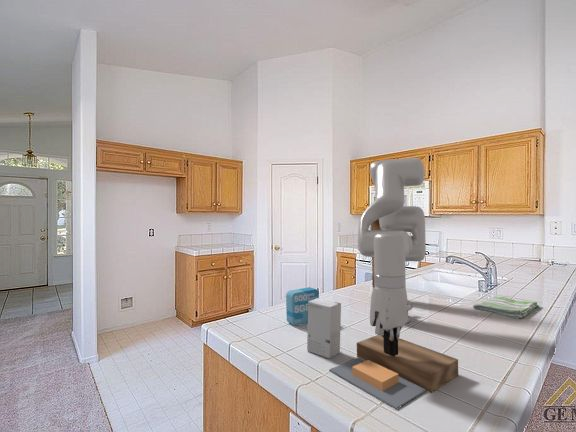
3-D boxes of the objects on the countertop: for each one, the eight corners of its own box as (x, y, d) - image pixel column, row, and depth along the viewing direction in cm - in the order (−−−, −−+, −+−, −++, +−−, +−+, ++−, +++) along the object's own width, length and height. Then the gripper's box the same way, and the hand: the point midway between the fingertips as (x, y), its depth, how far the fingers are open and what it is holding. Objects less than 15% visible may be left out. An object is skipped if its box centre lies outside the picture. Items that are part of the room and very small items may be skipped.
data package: (292, 326, 112) (292, 293, 112) (286, 323, 116) (285, 291, 116) (319, 320, 119) (319, 288, 118) (312, 317, 122) (312, 286, 122)
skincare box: (306, 351, 92) (305, 301, 92) (318, 344, 96) (317, 296, 96) (331, 359, 86) (330, 306, 86) (342, 352, 91) (341, 301, 91)
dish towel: (471, 310, 128) (471, 301, 128) (492, 299, 143) (492, 292, 143) (522, 321, 115) (521, 311, 115) (540, 308, 129) (539, 300, 129)
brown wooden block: (384, 345, 95) (383, 332, 95) (458, 375, 77) (458, 359, 77) (356, 356, 88) (356, 342, 88) (431, 392, 70) (431, 374, 70)
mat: (358, 358, 87) (358, 357, 87) (426, 391, 70) (426, 389, 70) (329, 370, 80) (329, 369, 80) (396, 409, 64) (396, 407, 64)
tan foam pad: (368, 359, 81) (368, 367, 81) (352, 366, 77) (352, 374, 77) (398, 373, 74) (398, 382, 74) (382, 382, 70) (382, 391, 70)
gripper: (395, 275, 86) (396, 341, 87) (358, 283, 78) (359, 356, 78) (420, 279, 80) (421, 350, 80) (383, 288, 72) (384, 368, 72)
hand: (390, 353), depth 79 cm, fingers closed
